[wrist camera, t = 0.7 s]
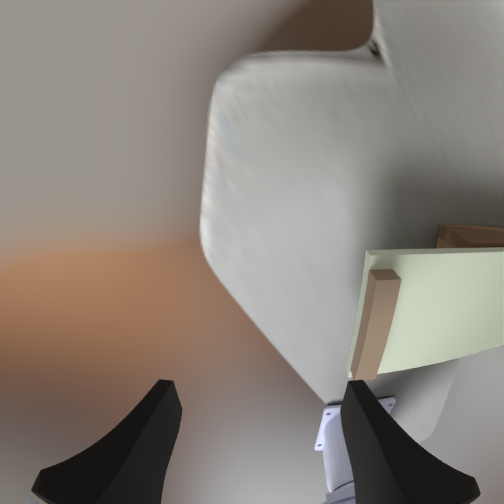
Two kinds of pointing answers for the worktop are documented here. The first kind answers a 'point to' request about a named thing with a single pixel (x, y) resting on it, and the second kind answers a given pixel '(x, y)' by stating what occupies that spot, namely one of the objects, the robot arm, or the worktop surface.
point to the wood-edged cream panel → (426, 308)
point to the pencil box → (469, 236)
